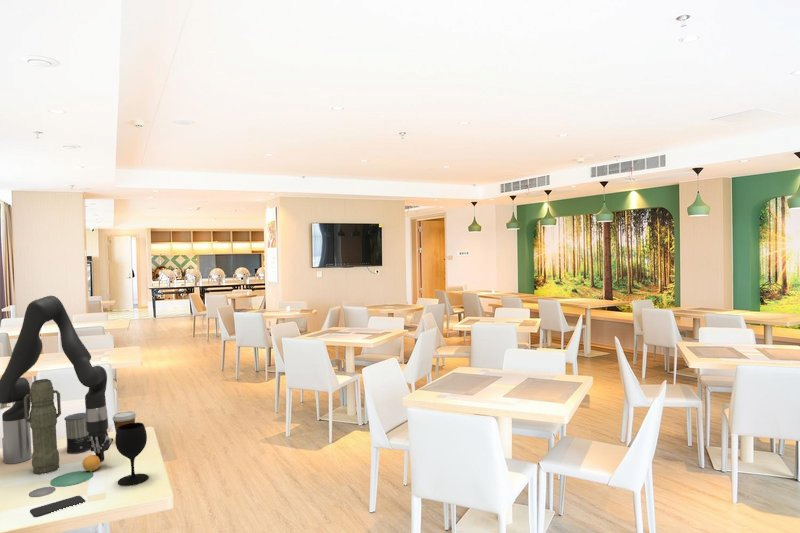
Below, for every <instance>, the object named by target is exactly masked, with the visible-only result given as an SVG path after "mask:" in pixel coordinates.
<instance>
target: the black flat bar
mask: <svg viewBox="0 0 800 533" xmlns="http://www.w3.org/2000/svg"><path fill="white" fill-rule="evenodd" d="M83 502H84V503H86V500H85V498H83V496H81V495H76V496H72V497H67V498H64V499H61V500H57V501H54V502H51V503H47V504H44V505H41V506H38V507H33V508H31V509H30V510H29V513H30V514H31V515H32V516H33V517H34V518H39V517H42V516H45V515H48V514H52V513H51V512H53V513H55V512H54V511H56V512H58V511H57V510H59V509H62V510H64V509H63V508H65V509H67V508H66V507H69V506H72V507H74V506H73V505H75V506H78V505H80V504H79V503H81V504H84V503H83ZM77 504H78V505H77ZM69 508H70V507H69ZM59 511H60V510H59Z"/></svg>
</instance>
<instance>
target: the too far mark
mask: <svg viewBox="0 0 800 533" xmlns="http://www.w3.org/2000/svg"><path fill="white" fill-rule="evenodd" d="M56 488H57V487H56V486H45V487H40V488H36V489H33V490H32V491H30V492H29V493H28V496H29V497H31V498H40V497H44V496H48V495H50V494H52V493H54V492H55V491H56Z"/></svg>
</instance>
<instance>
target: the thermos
mask: <svg viewBox="0 0 800 533" xmlns="http://www.w3.org/2000/svg"><path fill="white" fill-rule="evenodd" d="M54 394H56V400H57V402H56V403H57V404H56V405H57V406H55V401H54V399H55V395H54ZM28 397H30V412H29V416H30V418H29V419H28V410H27V398H28ZM56 407H57V408H56ZM24 410H25V420H26V422H29V423H30V430H31V440H32V457H31V465H32V473H33V474H34V475H45V473H46V474H50V473H53V472H56V471H57V470H58V468H59V469H60V452H59V449H58V441H57V423H58V418H59V417H60V416H61V415H62V408H61V393H60V392H59V391H58V390H57V389H54V386H53V383H52V380H51V379H48V378H42V379H36V380H34V381H32V382H31V385H30V393H29V394H27V395H26V396H25V397H24ZM49 472H50V473H49Z"/></svg>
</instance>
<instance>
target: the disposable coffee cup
mask: <svg viewBox="0 0 800 533" xmlns="http://www.w3.org/2000/svg"><path fill="white" fill-rule="evenodd" d="M136 417H137V414H136V412H135V411H120V412H117V413H114V414H113V417H112V422H113V423H114V424H113V425H114V430H115V432H116V431H117V428H118V427H119V426H121V425H124V424H128V423H136Z"/></svg>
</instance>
